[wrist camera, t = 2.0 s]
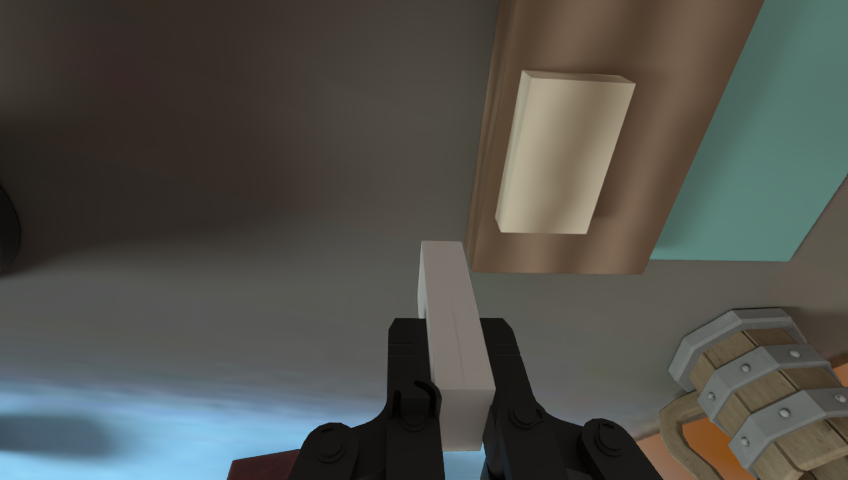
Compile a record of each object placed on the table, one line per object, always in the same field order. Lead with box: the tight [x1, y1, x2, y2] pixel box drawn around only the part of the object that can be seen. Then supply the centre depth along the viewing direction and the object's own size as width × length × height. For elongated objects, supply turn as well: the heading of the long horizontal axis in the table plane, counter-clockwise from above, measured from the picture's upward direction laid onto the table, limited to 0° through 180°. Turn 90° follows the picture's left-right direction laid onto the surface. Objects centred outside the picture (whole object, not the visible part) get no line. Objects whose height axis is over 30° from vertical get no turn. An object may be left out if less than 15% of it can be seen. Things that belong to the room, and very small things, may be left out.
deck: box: [465, 0, 765, 274], centre depth 30 cm, size 14×20×4 cm
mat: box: [650, 0, 848, 261], centre depth 33 cm, size 16×22×1 cm
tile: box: [495, 70, 636, 234], centre depth 27 cm, size 6×10×2 cm, turn 176°
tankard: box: [660, 308, 848, 480], centre depth 42 cm, size 20×13×15 cm, turn 135°
